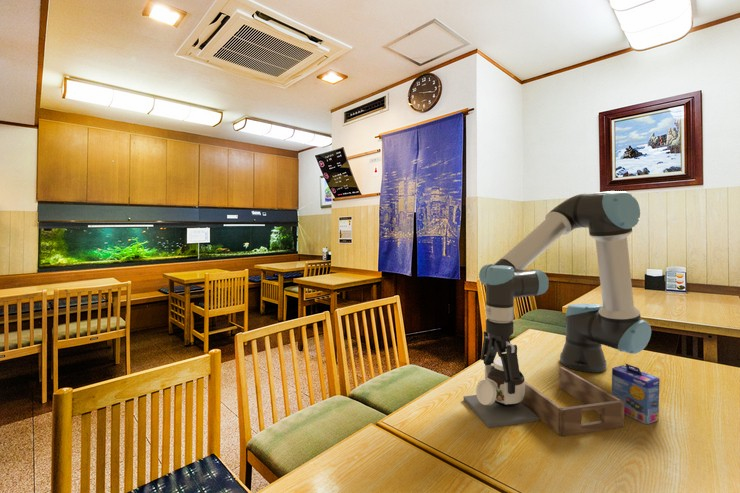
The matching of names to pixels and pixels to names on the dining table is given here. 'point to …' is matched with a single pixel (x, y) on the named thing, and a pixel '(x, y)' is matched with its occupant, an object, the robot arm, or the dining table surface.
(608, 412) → the wooden tray frame
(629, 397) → the ink cartridge box
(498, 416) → the slate board
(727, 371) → the dining table surface
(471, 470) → the dining table surface
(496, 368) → the spread jar
